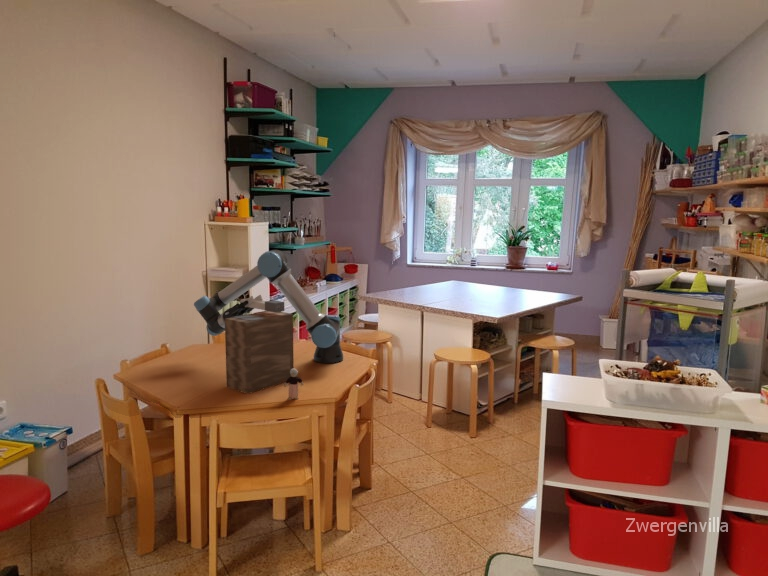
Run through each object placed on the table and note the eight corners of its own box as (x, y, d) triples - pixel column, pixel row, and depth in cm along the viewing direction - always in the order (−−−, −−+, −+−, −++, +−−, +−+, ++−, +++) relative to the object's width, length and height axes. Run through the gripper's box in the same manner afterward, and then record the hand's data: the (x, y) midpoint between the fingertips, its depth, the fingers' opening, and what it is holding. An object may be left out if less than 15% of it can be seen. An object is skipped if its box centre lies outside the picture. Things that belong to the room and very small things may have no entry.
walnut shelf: (226, 386, 240) (224, 318, 236) (272, 373, 260) (271, 309, 256) (247, 393, 232) (246, 322, 227) (293, 379, 252) (293, 313, 248)
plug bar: (237, 305, 256) (237, 296, 255) (246, 304, 260) (245, 295, 259) (275, 312, 240) (275, 303, 240) (284, 310, 244) (284, 301, 244)
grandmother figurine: (286, 401, 223) (285, 370, 221) (283, 398, 227) (283, 368, 225) (304, 398, 226) (304, 368, 224) (302, 396, 230) (301, 366, 228)
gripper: (246, 322, 271) (274, 303, 257) (216, 327, 257) (244, 308, 243) (241, 308, 272) (268, 288, 258) (211, 313, 259) (238, 292, 245)
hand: (256, 298), depth 251 cm, fingers closed on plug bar, 4 cm apart
